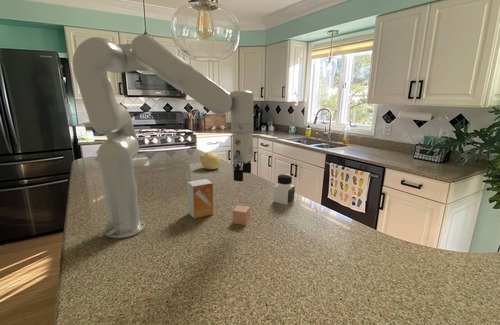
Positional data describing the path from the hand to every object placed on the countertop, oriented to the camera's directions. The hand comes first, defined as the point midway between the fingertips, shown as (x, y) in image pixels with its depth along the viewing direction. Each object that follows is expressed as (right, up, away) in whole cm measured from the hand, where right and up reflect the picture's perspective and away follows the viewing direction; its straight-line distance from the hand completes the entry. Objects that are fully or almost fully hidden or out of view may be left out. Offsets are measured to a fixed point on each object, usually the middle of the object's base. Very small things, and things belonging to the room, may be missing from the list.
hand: (242, 176), depth 92 cm
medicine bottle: (+18, -12, +23) cm, 32 cm away
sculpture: (-23, +1, +74) cm, 77 cm away
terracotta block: (-1, -17, +4) cm, 17 cm away
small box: (-17, -15, +10) cm, 25 cm away
